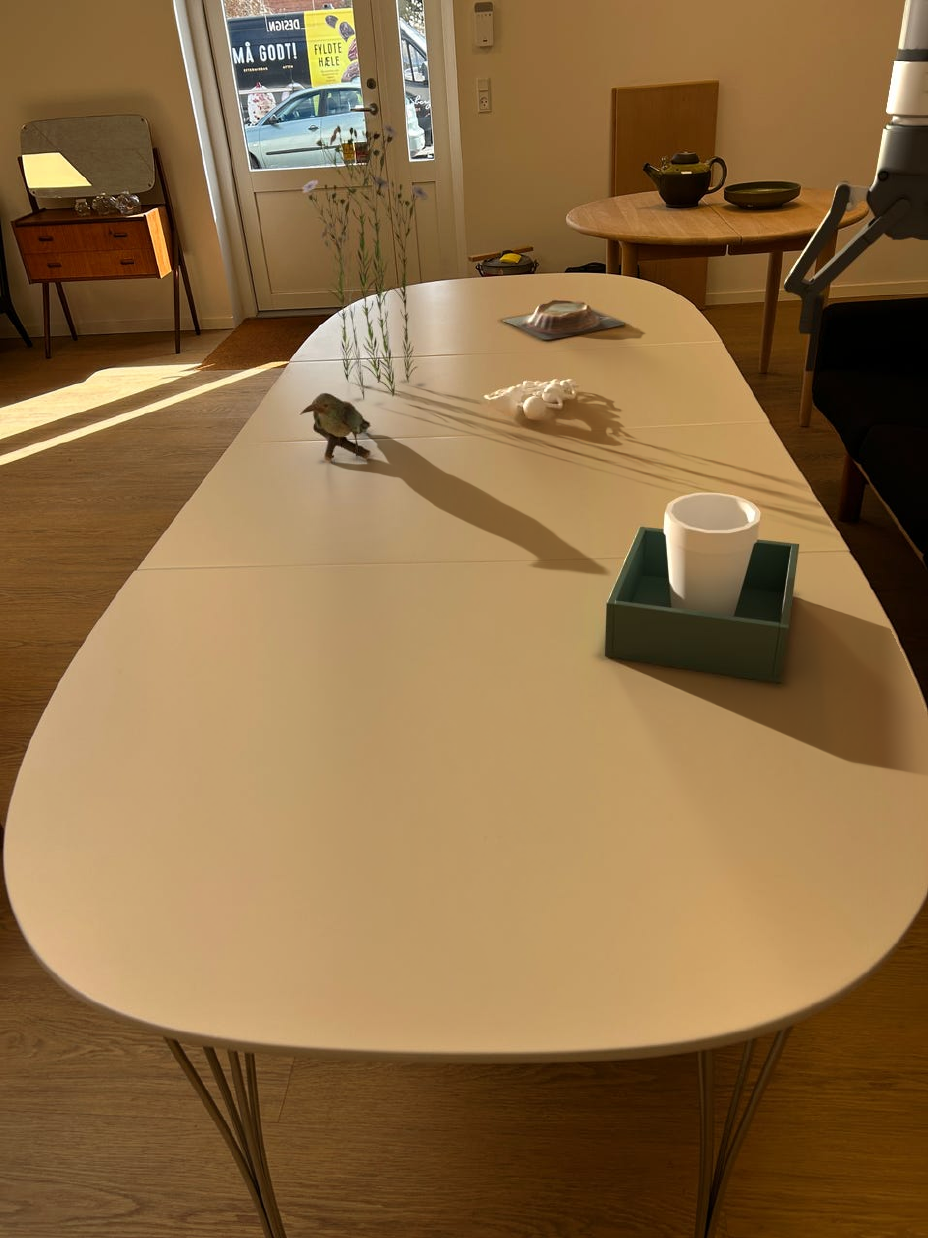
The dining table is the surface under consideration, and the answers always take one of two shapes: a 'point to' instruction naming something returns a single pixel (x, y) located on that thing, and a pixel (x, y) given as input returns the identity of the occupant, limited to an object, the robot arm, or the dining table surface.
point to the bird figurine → (338, 424)
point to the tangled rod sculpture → (532, 405)
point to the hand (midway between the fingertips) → (885, 371)
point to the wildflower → (380, 184)
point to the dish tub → (702, 614)
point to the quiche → (563, 320)
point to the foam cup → (709, 550)
